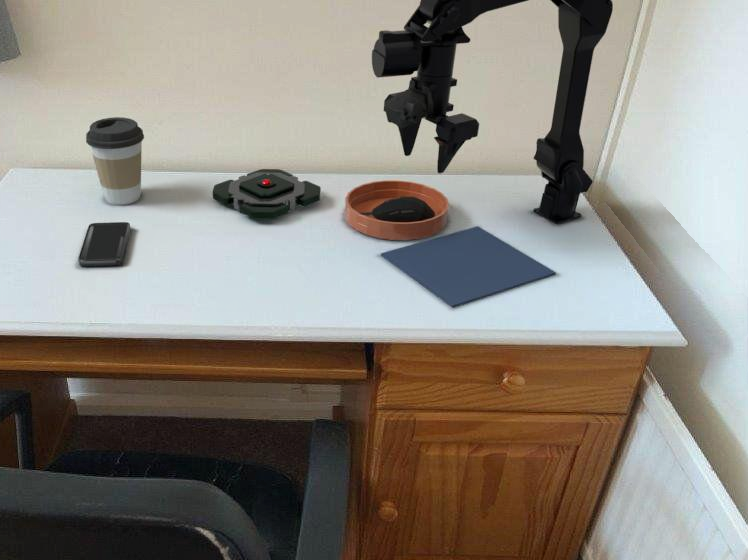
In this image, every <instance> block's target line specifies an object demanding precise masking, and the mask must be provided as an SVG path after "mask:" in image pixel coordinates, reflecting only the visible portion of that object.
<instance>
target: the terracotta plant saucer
mask: <svg viewBox="0 0 748 560" xmlns="http://www.w3.org/2000/svg"><path fill="white" fill-rule="evenodd" d="M399 197H415V198H418V199H420V200H423V201H424V202H425V203H426V204H427V205H428V206H429V207H430V208H431V209H432V210H433V211H434V212H435V217H433V218H431V219H427V220H423V221H418V222H409V223H405V222H387V221H381V220H378V219H376V218H375V217H374V216H373V214H372V215H362V214H360V213H366V212H372V210H373V209H374V208H375V207H377V206H378V205H380V204H382V203H383V202H384V201H385V200H390V199H394V198H399ZM344 200H345V201H344V219H345V220H344V221H346V222H347V224H348V225H349V226H350V227H351V228H353V229H355V230H356V231H357V232H359V233H361V234H364V235H366V236H369V237H372V238H377V239H381V240H389V241H413V240H419V239H425V238H427V237H431V236H433V235H435V234H437V233H439V232H441V231H442V230H443V229H444V228H445V227H446V225H447V223H448V222H447V221H448V215H449V210H450V202H449V198H448V197H446V195H445V194H444V193H442V192H441V191H440V190H437V189H435V188H434V187H431V186H429V185H426V184H423V183H418V182H414V181H408V180H396V179H395V180H390V179H389V180H377V181H376V180H375V181H371V182H367V183H363V184H360V185H358V186H356V187H354V188H352V189H350V191H348V192H347V194H346V196H345V199H344Z"/></svg>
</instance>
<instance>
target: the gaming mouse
mask: <svg viewBox="0 0 748 560" xmlns="http://www.w3.org/2000/svg"><path fill="white" fill-rule="evenodd" d="M360 214H362V215H372V214H373V216H374V217H375V218H376V219H378V220H381V221H387V222H405V223H409V222H418V221H423V220H427V219H431V218H433V217H435V212H434V211H433V210H432V209H431V208H430V207H429V206H428V205H427V204H426V203H425V202H424V201H423V200H420V199H418V198H415V197H399V198H394V199H390V200H385V201H384V202H383V203H382V204H380V205H378V206H377V207H375V208H374V209H373V210H372V212H366V213H360Z"/></svg>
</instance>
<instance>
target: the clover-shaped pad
mask: <svg viewBox="0 0 748 560" xmlns="http://www.w3.org/2000/svg"><path fill="white" fill-rule="evenodd" d="M211 195H212V199H213V200H214V201H216V202H219V203H220V204H223V205H224V206H229V205H233V208H234V209H235V210H237V211H239V213H240V214H243V215H244V216H246V217H249V218H250V219H253V220H274V219H278V218H279V217H282V216H286V215H287V214H290V212H294V211H296V209H297V207H298V206H301V207H307V206H311V205H313V204H315V203H317V202H320V201H321V186H320V185H317V184H315V183H313V182H311V181H309V180H302V181H301V180H299V177H298V176H296V175H293V174H292V173H291V172H287V171H286V170H284V169H280V168H261V169H257V170H255V171H251V172H249V173H246V175H240V176H238V178H237V179H235V180H234V179H227V180H224V181H222V182H219V183H216V184H214V186H213V188H212V191H211Z"/></svg>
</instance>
